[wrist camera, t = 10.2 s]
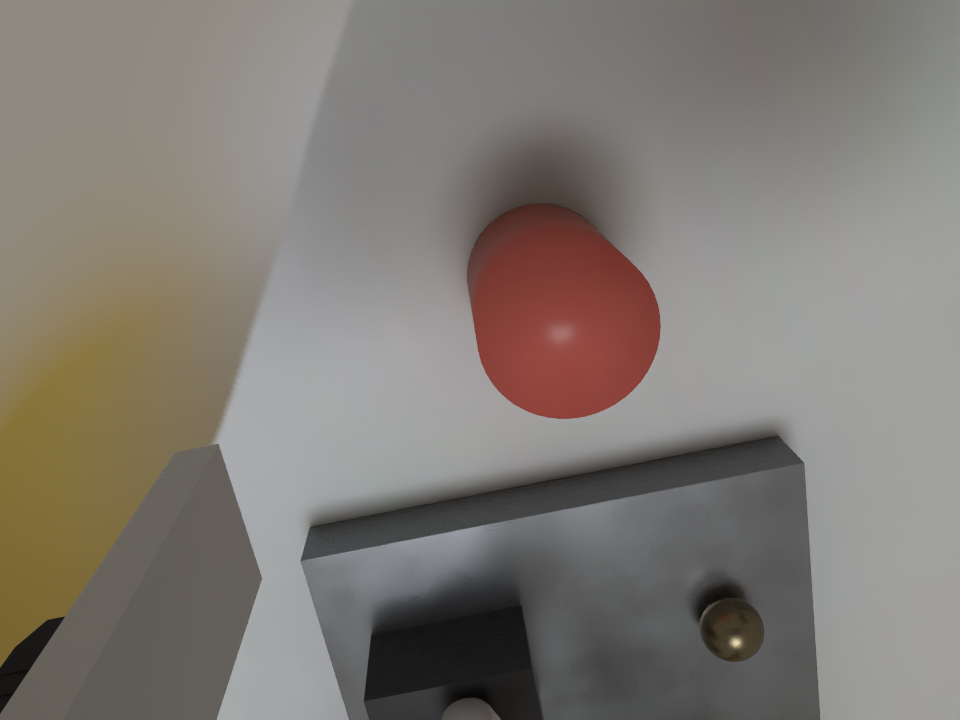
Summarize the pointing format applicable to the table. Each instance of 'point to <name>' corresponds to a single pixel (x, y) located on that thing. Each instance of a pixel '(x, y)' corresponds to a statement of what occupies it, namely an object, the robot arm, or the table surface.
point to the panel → (582, 596)
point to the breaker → (469, 710)
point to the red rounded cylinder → (559, 313)
